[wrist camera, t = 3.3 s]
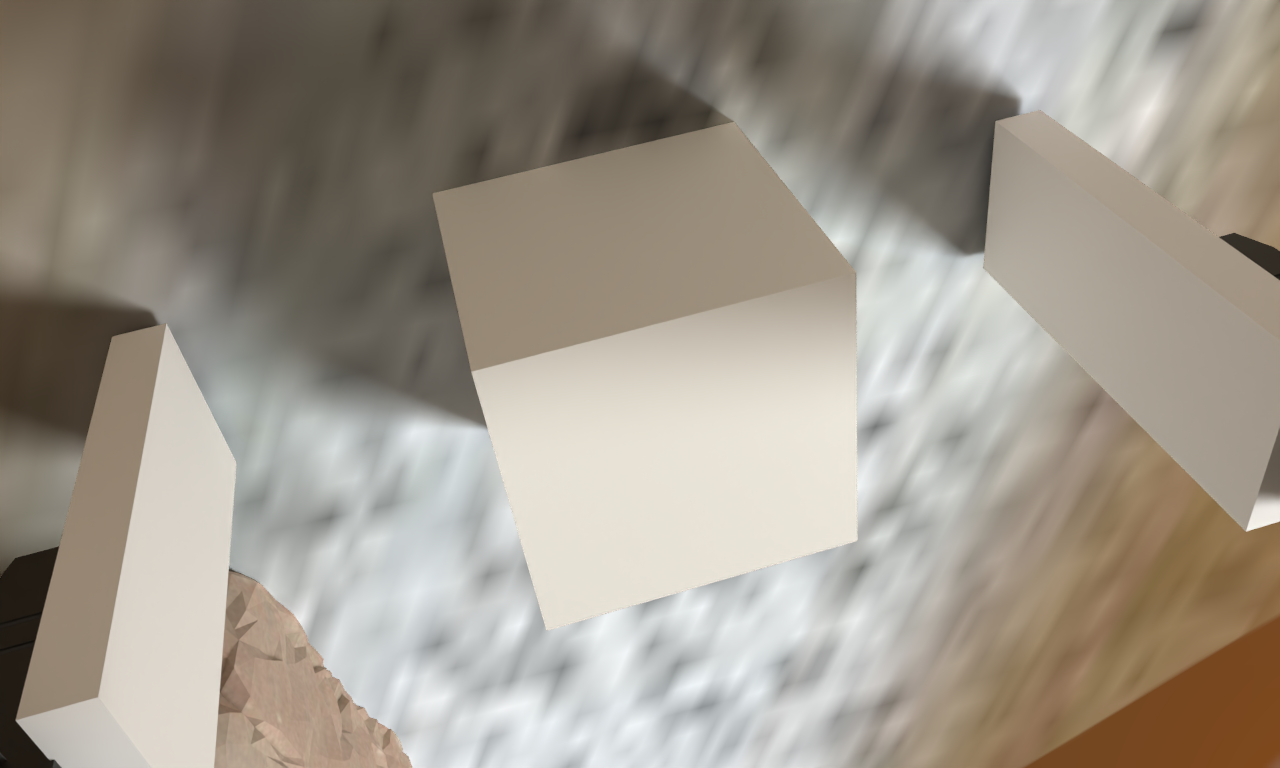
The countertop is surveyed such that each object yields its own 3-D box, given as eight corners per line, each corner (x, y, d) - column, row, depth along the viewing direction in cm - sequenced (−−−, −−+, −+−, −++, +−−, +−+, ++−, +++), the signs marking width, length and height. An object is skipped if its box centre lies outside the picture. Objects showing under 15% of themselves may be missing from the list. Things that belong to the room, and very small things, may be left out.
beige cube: (498, 427, 18) (547, 630, 14) (431, 190, 15) (471, 372, 12) (751, 360, 18) (857, 540, 15) (732, 119, 16) (856, 272, 12)
